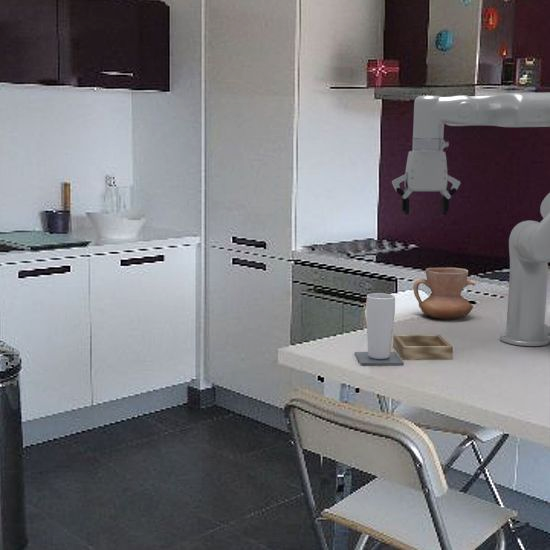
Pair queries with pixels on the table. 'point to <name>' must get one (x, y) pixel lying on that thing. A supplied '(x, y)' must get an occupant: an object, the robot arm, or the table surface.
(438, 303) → the ceramic jug
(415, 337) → the oak collar
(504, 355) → the table surface
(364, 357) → the slate coaster
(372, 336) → the drinking glass
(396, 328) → the table surface
